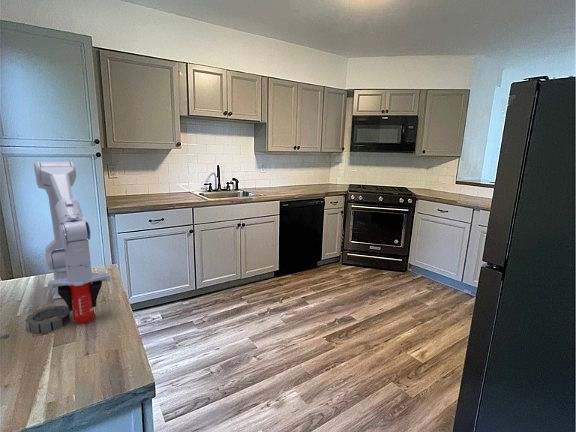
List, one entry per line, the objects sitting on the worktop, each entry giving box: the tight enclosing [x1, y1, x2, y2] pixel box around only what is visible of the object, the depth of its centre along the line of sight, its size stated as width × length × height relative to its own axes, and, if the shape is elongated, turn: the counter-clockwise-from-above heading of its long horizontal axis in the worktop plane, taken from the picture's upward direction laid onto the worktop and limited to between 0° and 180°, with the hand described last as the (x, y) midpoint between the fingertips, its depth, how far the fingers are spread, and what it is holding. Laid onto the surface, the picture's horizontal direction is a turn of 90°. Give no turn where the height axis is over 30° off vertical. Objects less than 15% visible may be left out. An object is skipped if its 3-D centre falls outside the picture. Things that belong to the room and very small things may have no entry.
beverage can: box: [70, 282, 96, 325], centre depth 90 cm, size 5×5×12 cm
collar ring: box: [25, 305, 73, 334], centre depth 89 cm, size 10×10×2 cm
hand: (83, 307), depth 91 cm, fingers open, 5 cm apart
